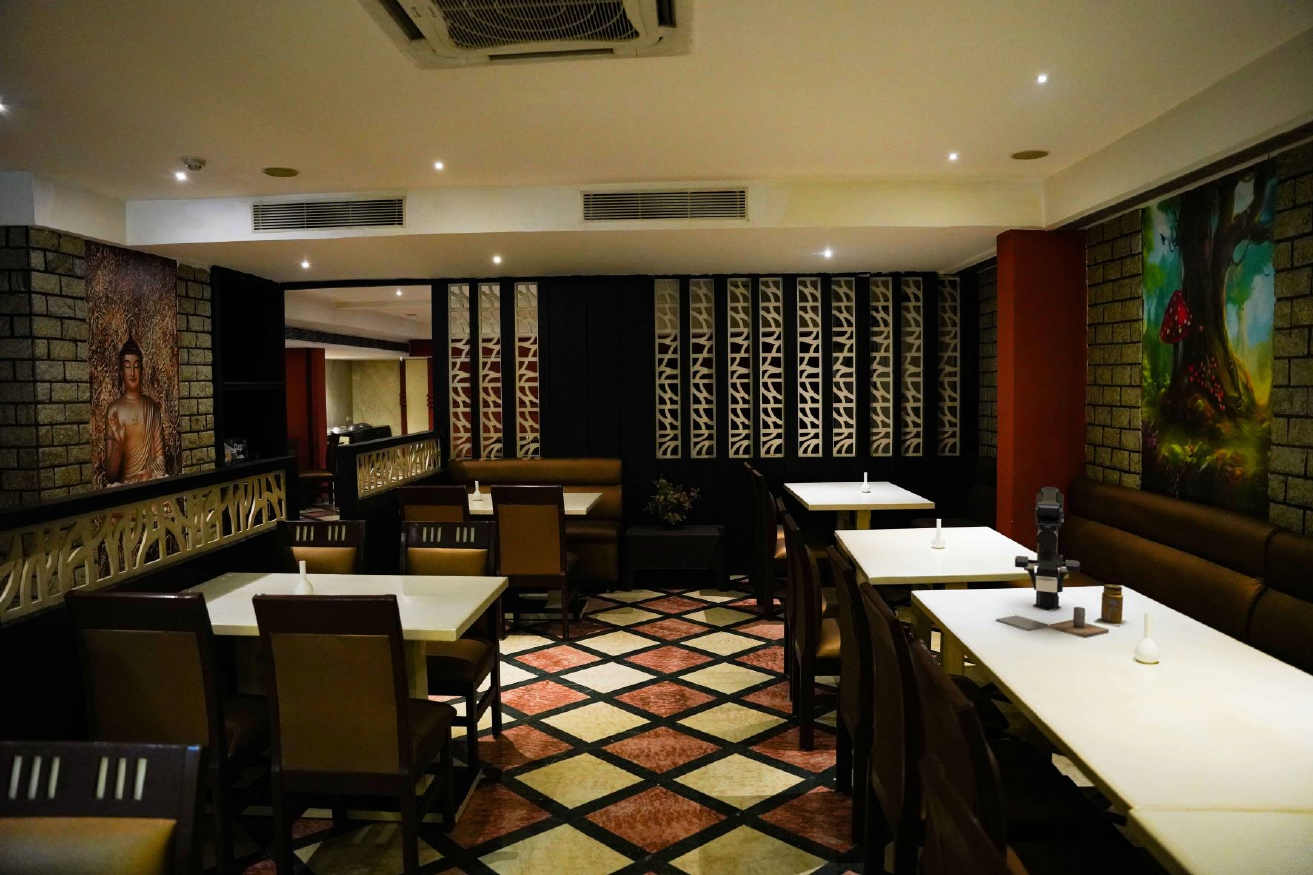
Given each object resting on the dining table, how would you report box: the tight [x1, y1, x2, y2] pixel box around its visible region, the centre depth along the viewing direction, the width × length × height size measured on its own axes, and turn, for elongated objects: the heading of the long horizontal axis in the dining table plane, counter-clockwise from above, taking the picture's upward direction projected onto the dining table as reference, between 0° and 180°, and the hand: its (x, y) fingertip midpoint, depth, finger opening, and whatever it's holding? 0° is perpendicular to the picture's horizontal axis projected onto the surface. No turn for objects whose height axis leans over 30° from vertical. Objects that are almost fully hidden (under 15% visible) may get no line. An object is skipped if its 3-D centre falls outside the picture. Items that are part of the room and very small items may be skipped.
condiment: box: [1094, 583, 1127, 627], centre depth 259 cm, size 7×8×12 cm
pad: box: [995, 615, 1050, 632], centre depth 257 cm, size 12×10×1 cm
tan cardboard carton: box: [1035, 576, 1057, 593], centre depth 254 cm, size 6×6×4 cm
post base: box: [1048, 606, 1110, 639], centre depth 250 cm, size 12×12×7 cm
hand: (1046, 590), depth 254 cm, fingers closed on tan cardboard carton, 6 cm apart
